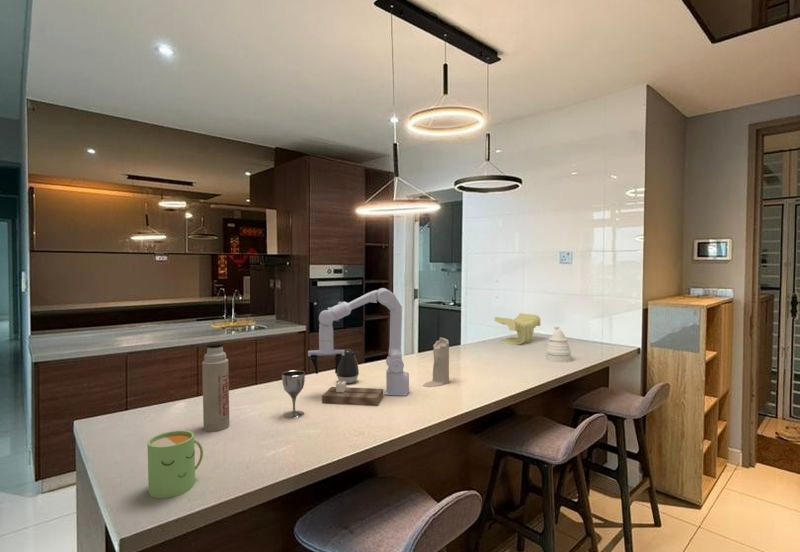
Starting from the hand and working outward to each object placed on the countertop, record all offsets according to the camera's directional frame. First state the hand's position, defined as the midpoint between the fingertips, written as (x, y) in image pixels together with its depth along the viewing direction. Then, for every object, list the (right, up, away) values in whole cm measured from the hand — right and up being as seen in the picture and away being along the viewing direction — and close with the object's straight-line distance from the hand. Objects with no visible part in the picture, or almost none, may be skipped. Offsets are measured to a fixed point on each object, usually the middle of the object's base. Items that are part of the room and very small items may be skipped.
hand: (326, 373), depth 176 cm
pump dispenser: (+6, -9, +21) cm, 24 cm away
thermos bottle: (-31, -11, -32) cm, 46 cm away
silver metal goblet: (-8, -11, -20) cm, 24 cm away
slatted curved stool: (+110, -5, +115) cm, 159 cm away
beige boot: (+46, -9, +18) cm, 50 cm away
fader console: (+11, -10, -4) cm, 16 cm away
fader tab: (+6, -6, -4) cm, 10 cm away
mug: (-25, -12, -69) cm, 75 cm away
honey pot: (+118, -7, +63) cm, 134 cm away
